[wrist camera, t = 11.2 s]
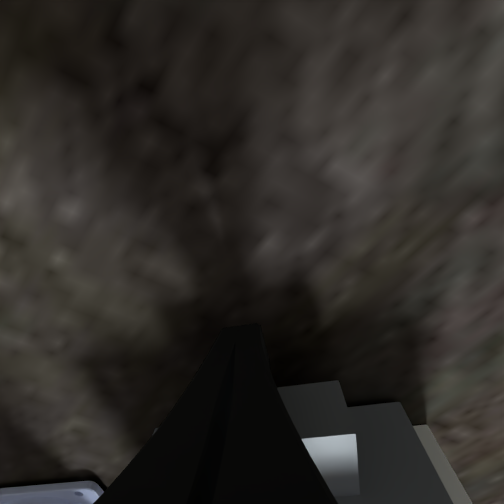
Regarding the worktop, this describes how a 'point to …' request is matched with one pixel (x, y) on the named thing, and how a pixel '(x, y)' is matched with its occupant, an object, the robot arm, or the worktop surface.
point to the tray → (363, 448)
